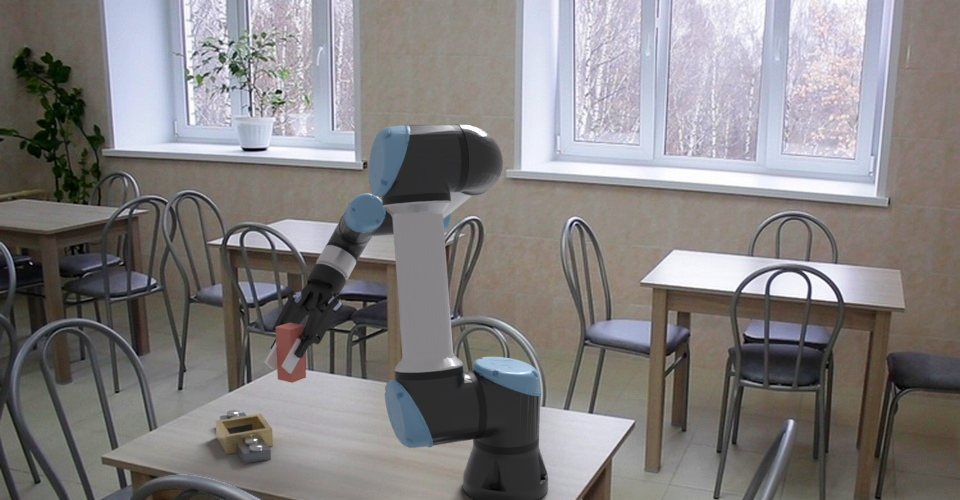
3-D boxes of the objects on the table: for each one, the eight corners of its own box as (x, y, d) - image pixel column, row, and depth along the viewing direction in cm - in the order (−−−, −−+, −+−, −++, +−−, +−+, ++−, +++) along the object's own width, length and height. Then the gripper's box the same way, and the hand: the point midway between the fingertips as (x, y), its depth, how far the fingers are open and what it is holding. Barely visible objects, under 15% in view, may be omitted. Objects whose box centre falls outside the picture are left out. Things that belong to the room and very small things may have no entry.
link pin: (306, 377, 200) (304, 325, 198) (292, 382, 197) (290, 329, 195) (291, 374, 202) (289, 322, 200) (277, 379, 199) (275, 326, 197)
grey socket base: (281, 457, 186) (280, 440, 185) (233, 466, 182) (233, 448, 181) (253, 419, 205) (253, 403, 204) (210, 426, 201) (209, 410, 200)
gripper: (371, 287, 204) (319, 384, 194) (310, 277, 214) (257, 370, 203) (353, 266, 199) (299, 365, 189) (292, 257, 208) (237, 351, 198)
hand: (277, 367), depth 196 cm, fingers closed on link pin, 4 cm apart
